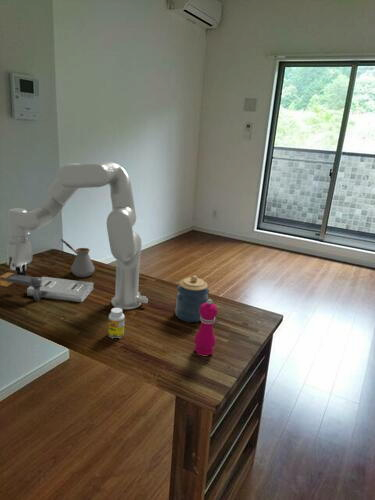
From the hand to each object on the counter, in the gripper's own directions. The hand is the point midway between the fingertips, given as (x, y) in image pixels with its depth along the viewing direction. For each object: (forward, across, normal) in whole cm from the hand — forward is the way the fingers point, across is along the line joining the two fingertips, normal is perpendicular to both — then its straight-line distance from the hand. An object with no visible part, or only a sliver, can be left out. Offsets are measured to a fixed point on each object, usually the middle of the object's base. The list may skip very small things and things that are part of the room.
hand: (21, 279), depth 160 cm
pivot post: (+6, +3, +11) cm, 13 cm away
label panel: (+6, -8, +14) cm, 17 cm away
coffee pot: (+6, -30, +5) cm, 31 cm away
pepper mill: (+6, +6, +85) cm, 86 cm away
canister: (+6, -17, +72) cm, 74 cm away
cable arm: (+1, +4, +5) cm, 6 cm away
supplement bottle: (+6, +11, +54) cm, 55 cm away
